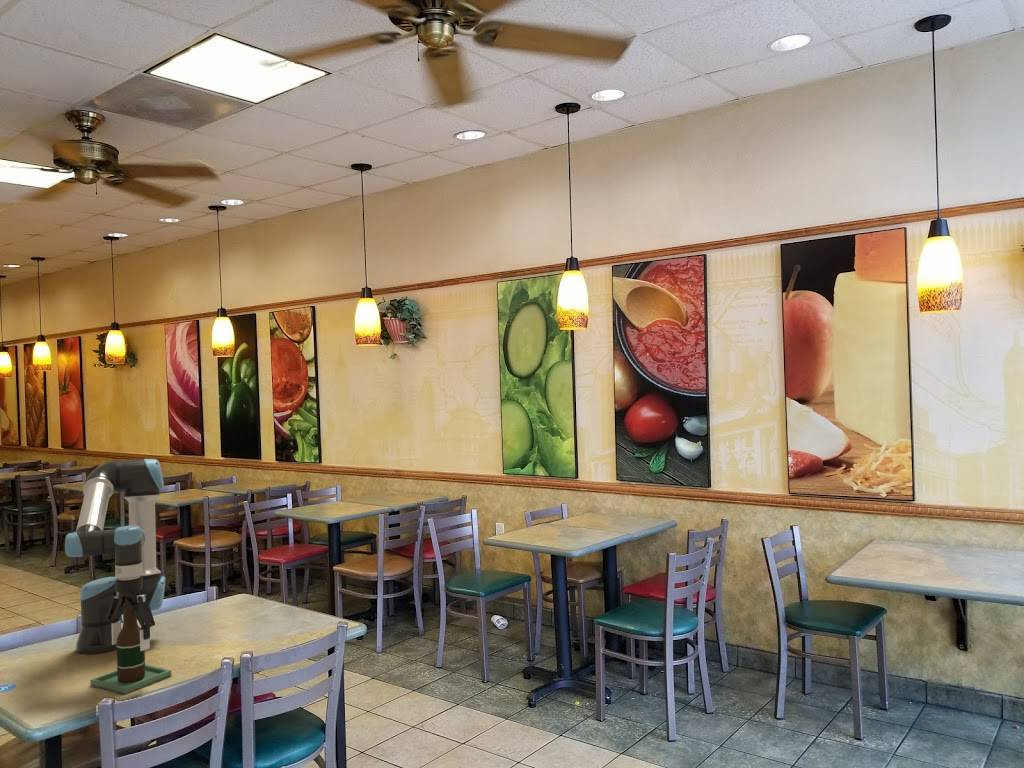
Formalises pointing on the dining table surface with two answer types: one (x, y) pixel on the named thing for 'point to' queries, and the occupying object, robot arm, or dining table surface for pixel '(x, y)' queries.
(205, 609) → the dining table surface
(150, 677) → the tray
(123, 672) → the beer bottle
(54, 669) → the dining table surface
